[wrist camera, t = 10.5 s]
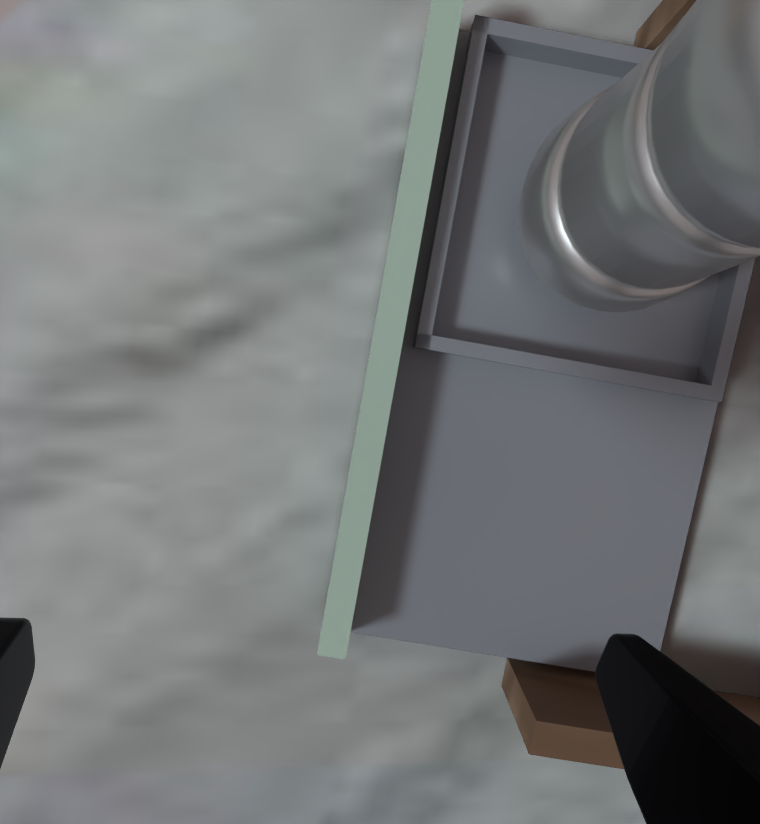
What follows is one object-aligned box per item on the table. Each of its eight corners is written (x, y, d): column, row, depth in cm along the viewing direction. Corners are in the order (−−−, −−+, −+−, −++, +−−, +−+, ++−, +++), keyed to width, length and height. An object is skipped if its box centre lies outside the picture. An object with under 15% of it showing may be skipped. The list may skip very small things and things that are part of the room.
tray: (643, 669, 23) (681, 713, 20) (323, 618, 22) (316, 655, 20) (773, 106, 21) (835, 67, 18) (425, 36, 20) (433, -15, 18)
